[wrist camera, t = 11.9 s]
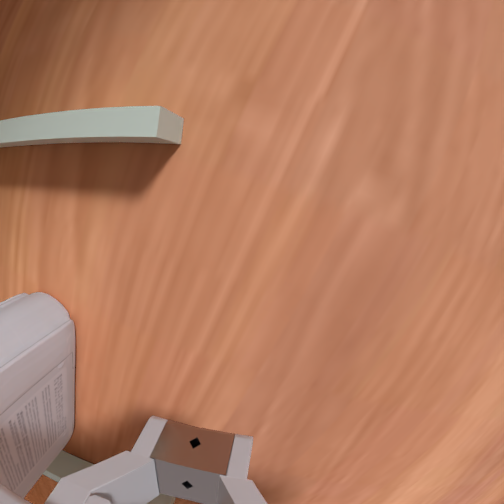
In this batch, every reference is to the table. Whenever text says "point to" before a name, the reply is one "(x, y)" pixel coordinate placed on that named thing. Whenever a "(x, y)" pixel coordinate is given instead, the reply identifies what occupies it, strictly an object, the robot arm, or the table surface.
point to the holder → (90, 131)
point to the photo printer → (34, 387)
